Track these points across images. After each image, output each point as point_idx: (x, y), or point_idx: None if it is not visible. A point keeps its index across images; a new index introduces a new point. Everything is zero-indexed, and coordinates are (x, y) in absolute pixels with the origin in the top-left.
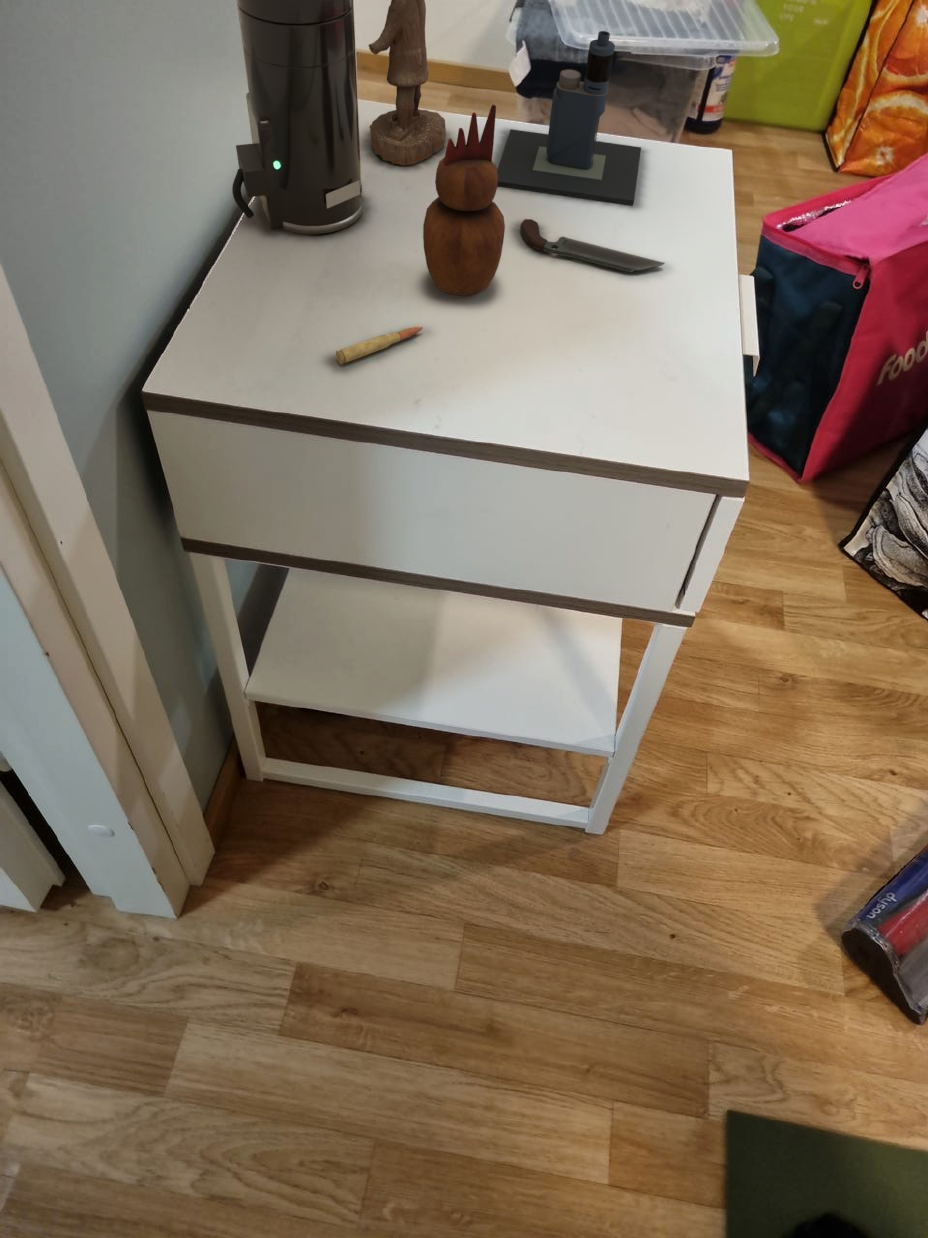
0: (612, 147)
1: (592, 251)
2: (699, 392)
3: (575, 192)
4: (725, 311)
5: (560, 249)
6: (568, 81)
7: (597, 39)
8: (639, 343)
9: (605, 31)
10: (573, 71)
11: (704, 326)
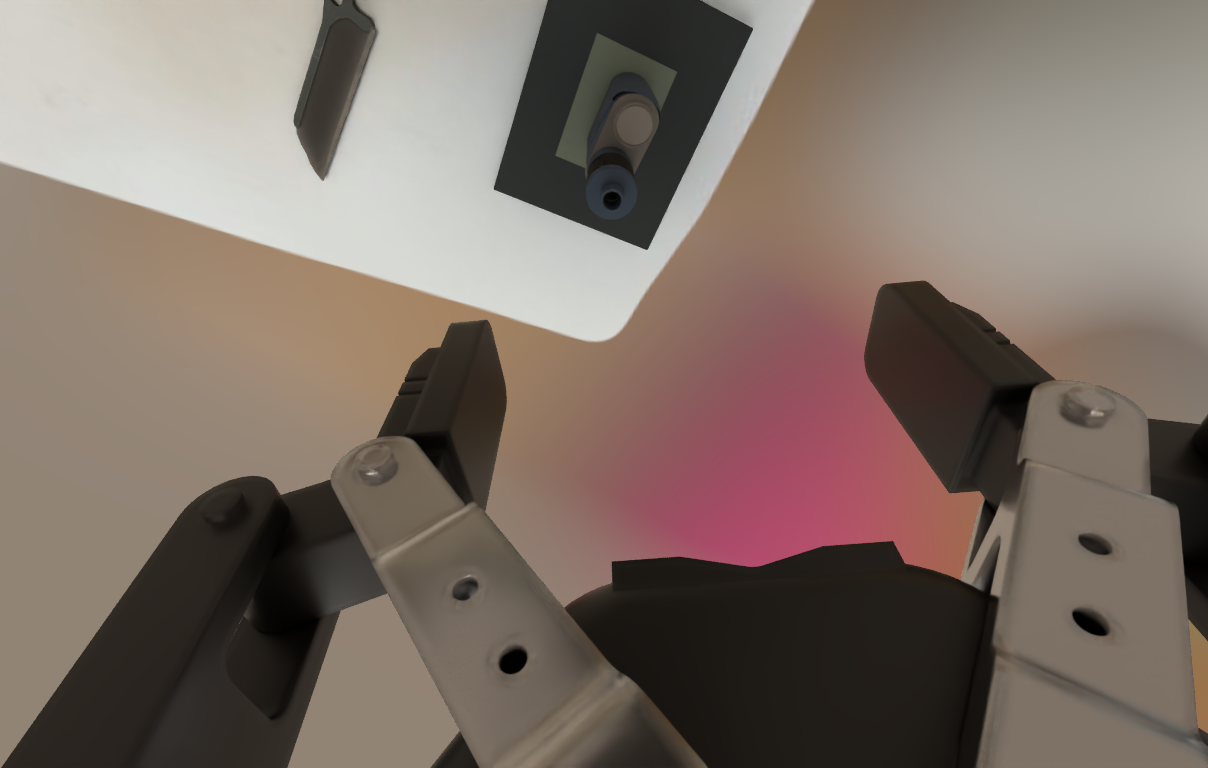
0: (652, 205)
1: (335, 70)
2: (32, 129)
3: (520, 96)
4: (237, 228)
5: (328, 7)
6: (615, 114)
7: (613, 185)
8: (120, 76)
9: (621, 206)
10: (643, 135)
11: (193, 188)
